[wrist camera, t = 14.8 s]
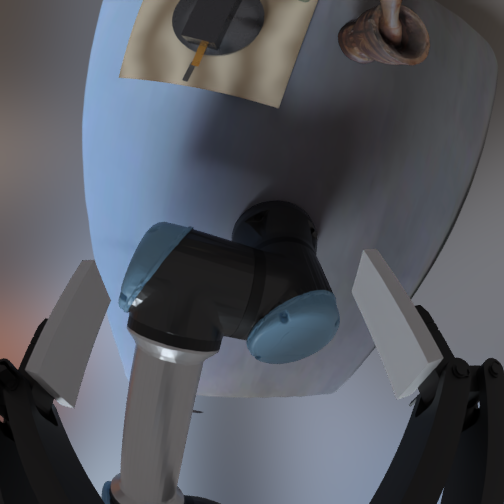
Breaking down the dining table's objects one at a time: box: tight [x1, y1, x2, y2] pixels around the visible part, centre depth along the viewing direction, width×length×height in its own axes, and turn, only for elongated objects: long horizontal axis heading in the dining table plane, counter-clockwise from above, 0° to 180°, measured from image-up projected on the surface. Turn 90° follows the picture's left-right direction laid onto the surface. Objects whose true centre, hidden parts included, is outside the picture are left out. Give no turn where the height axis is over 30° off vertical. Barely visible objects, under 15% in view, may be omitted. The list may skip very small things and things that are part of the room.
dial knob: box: [172, 0, 264, 67], centre depth 23 cm, size 14×12×8 cm
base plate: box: [119, 0, 318, 109], centre depth 26 cm, size 24×22×4 cm
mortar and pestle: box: [338, 0, 430, 65], centre depth 21 cm, size 12×9×20 cm
